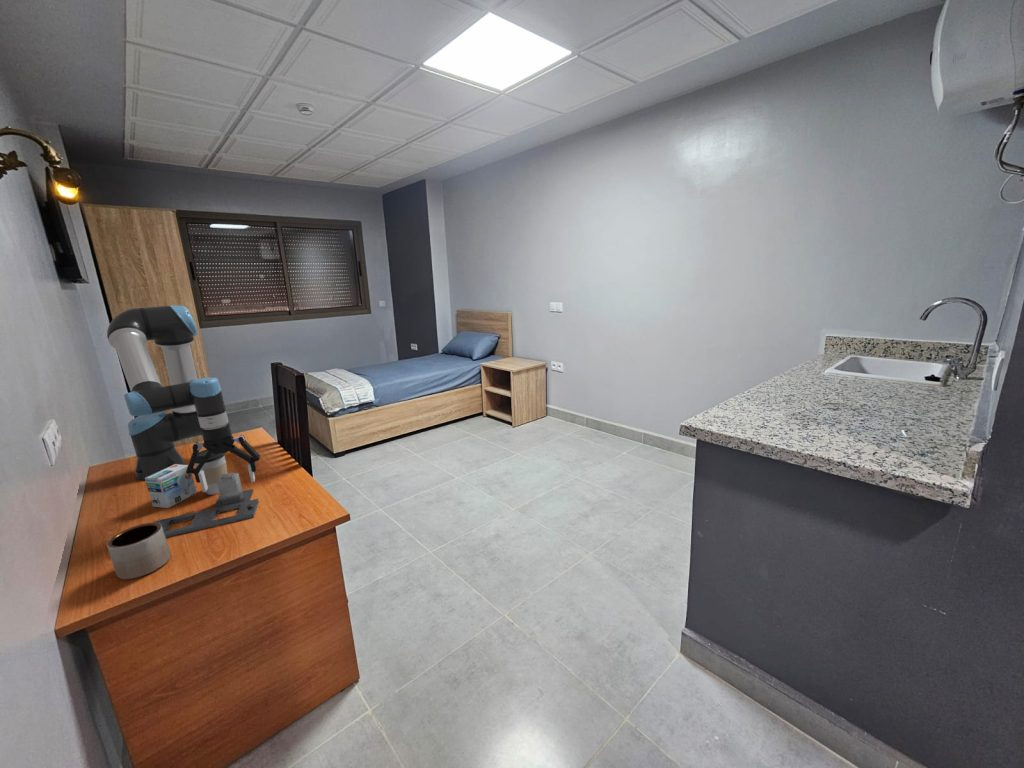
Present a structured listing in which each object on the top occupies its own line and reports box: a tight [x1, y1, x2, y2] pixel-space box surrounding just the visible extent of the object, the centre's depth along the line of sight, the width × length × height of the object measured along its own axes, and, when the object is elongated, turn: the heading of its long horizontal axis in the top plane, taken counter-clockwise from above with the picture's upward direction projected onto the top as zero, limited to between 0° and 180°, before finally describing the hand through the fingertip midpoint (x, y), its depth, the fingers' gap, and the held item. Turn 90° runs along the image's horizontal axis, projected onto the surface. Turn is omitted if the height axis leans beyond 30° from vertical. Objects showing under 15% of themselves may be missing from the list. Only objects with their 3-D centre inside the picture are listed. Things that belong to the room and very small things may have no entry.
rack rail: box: [152, 498, 260, 538], centre depth 127 cm, size 10×28×2 cm, turn 114°
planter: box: [106, 522, 172, 580], centre depth 106 cm, size 11×11×10 cm
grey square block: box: [217, 472, 244, 505], centre depth 137 cm, size 5×5×9 cm
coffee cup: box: [194, 449, 229, 496], centre depth 144 cm, size 9×9×15 cm
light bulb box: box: [144, 464, 198, 509], centre depth 139 cm, size 11×7×11 cm, turn 168°
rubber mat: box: [213, 488, 254, 508], centre depth 138 cm, size 10×10×1 cm
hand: (229, 485), depth 137 cm, fingers open, 13 cm apart
